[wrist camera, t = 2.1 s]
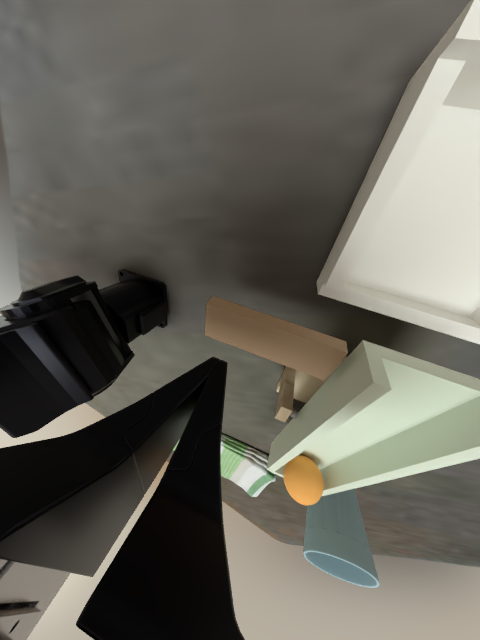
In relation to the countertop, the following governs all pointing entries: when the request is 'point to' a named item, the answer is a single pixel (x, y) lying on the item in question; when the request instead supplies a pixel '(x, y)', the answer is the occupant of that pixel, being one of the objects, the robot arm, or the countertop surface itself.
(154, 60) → the countertop surface
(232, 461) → the dish towel
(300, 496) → the ball
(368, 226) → the bin
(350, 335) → the countertop surface
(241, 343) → the lever
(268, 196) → the countertop surface
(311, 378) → the lever stand
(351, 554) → the cup
